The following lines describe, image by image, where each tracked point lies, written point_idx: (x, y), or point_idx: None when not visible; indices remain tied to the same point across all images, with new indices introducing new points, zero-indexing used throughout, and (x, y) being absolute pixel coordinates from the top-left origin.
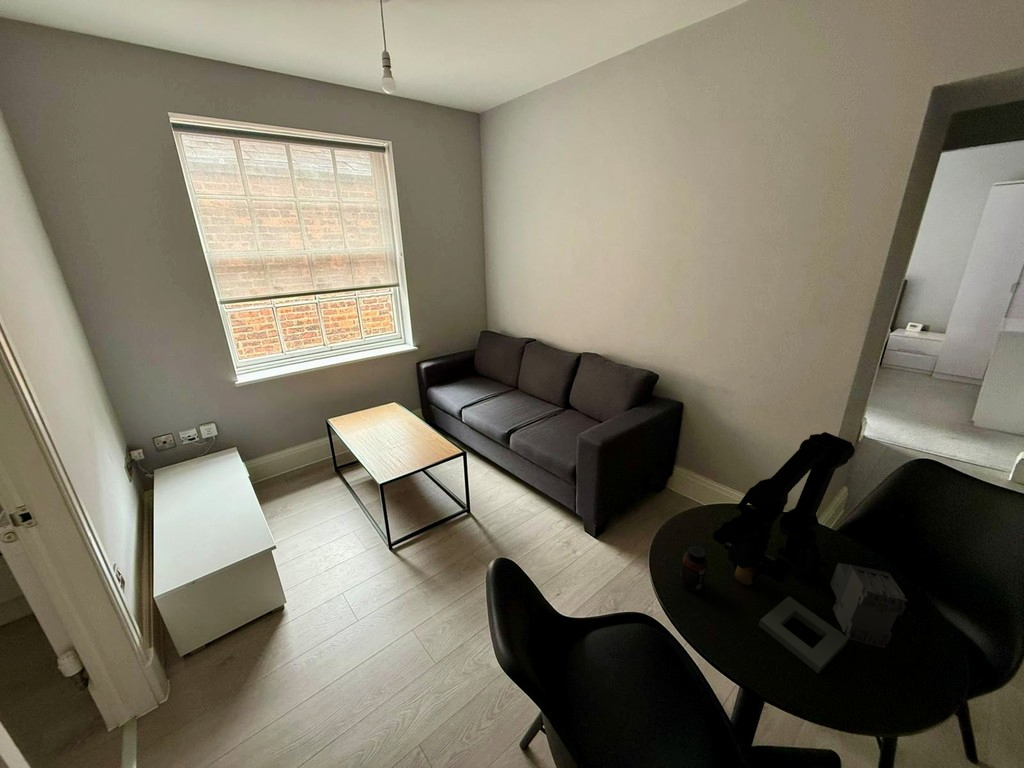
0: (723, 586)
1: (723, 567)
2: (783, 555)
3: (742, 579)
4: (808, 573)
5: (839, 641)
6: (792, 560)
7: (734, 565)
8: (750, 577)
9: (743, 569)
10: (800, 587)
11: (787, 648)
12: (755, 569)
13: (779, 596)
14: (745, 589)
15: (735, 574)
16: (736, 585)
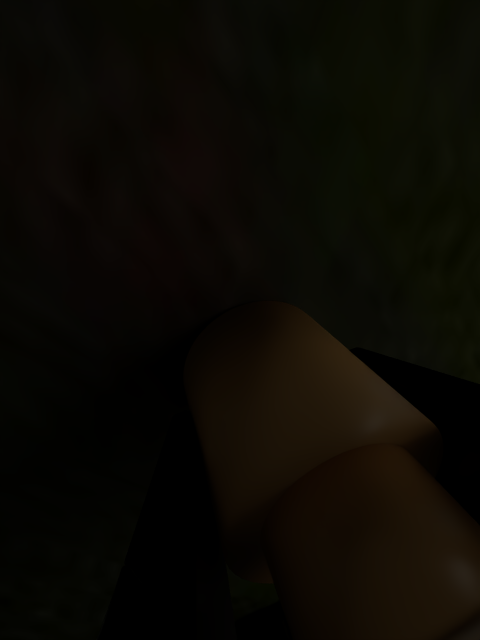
0: (266, 62)
1: (399, 283)
2: (277, 609)
3: (240, 336)
4: None
5: None
6: (239, 632)
7: (400, 366)
8: (206, 431)
9: (334, 437)
10: (78, 623)
11: None
12: (255, 567)
13: (16, 512)
14: (151, 296)
15: (313, 320)
16: (221, 243)
